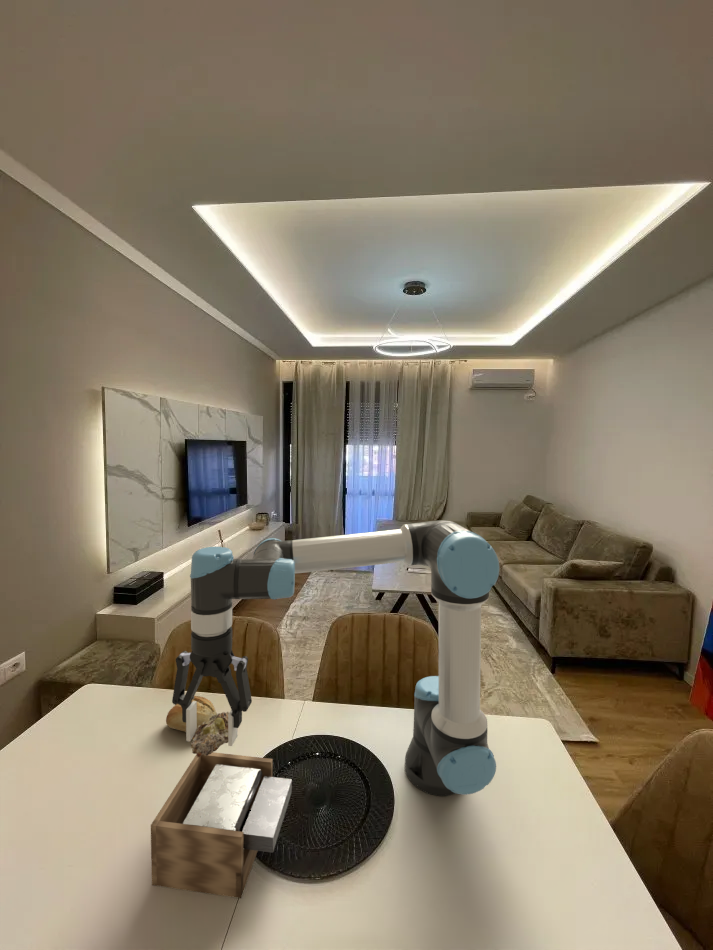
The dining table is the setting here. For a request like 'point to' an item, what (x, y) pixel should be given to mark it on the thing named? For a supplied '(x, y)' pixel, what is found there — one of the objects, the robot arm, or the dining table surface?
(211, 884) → the wooden box
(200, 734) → the mineral rock
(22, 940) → the dining table surface
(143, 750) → the dining table surface
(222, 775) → the trapdoor
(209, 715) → the bread roll
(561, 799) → the dining table surface
